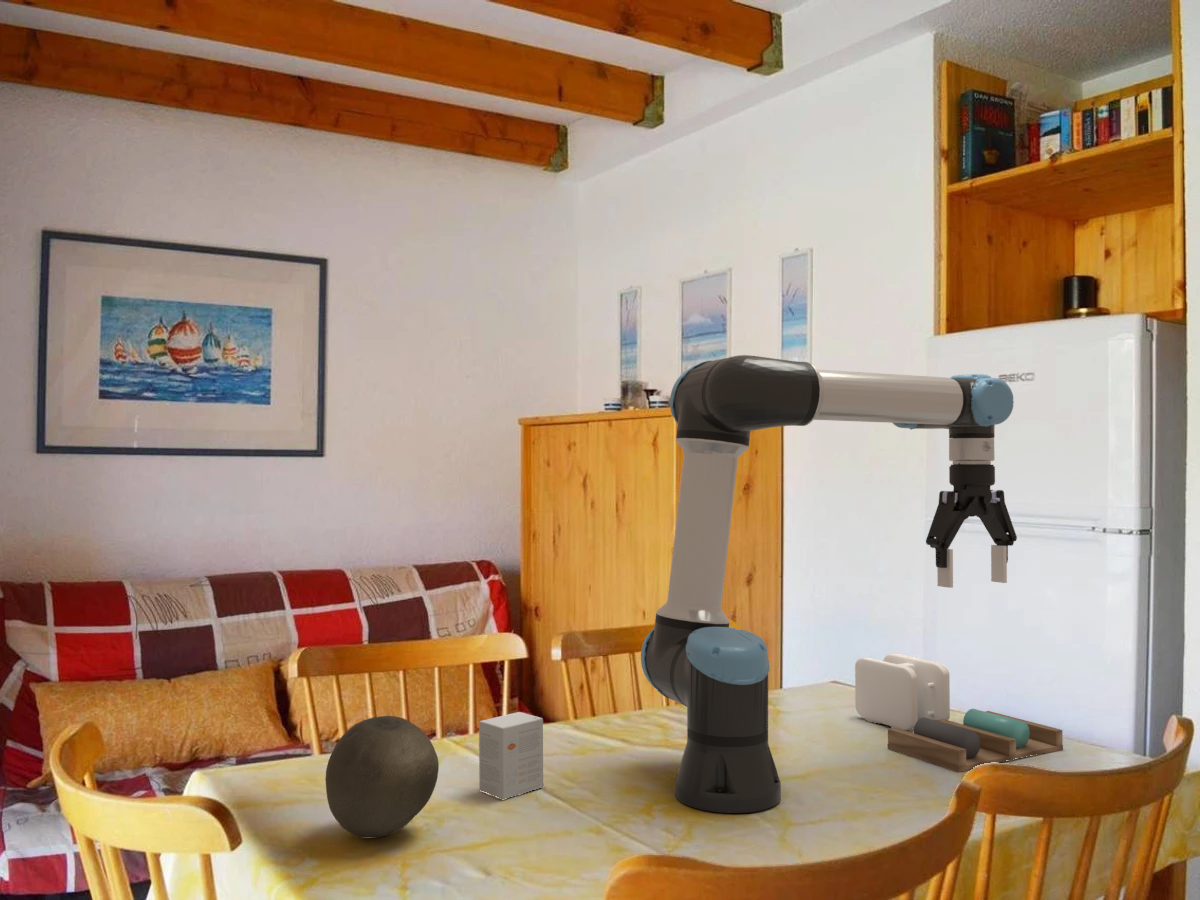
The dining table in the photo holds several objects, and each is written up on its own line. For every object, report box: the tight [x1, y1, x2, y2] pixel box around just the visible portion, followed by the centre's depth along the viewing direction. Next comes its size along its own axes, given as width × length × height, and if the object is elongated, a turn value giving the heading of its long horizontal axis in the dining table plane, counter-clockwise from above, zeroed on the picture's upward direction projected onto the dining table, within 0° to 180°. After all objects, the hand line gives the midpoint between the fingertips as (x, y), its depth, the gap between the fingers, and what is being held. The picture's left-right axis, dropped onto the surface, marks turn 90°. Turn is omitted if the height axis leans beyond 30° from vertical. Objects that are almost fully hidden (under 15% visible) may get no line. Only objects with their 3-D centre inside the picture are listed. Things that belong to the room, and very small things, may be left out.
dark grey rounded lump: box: [324, 715, 440, 838], centre depth 132 cm, size 14×14×15 cm
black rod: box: [913, 717, 981, 759], centre depth 167 cm, size 10×4×4 cm
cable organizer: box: [854, 653, 951, 731], centre depth 189 cm, size 15×11×12 cm
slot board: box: [886, 710, 1064, 773], centre depth 171 cm, size 25×15×3 cm, turn 119°
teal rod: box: [962, 708, 1030, 748], centre depth 173 cm, size 10×4×4 cm, turn 29°
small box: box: [478, 711, 544, 799], centre depth 150 cm, size 8×6×10 cm
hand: (972, 584), depth 178 cm, fingers open, 13 cm apart
